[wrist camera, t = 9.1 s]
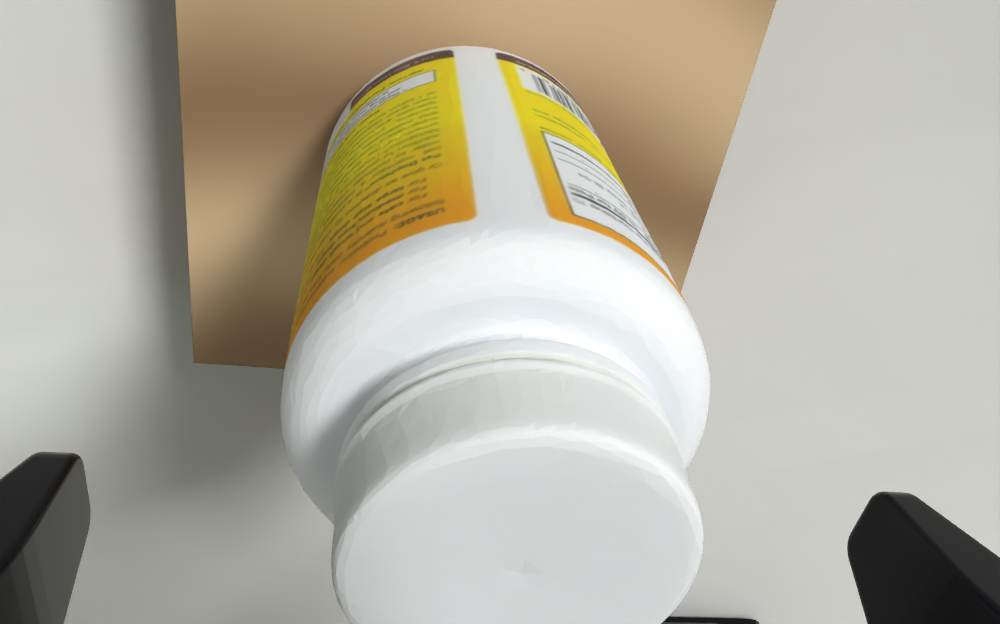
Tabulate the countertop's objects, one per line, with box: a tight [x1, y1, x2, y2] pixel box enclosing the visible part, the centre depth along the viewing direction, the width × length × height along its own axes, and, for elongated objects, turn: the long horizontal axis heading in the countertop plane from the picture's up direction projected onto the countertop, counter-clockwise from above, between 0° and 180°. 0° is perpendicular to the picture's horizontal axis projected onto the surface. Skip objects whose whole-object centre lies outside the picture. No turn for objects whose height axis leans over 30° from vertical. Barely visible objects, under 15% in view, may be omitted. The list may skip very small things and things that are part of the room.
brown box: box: [175, 0, 776, 369], centre depth 18 cm, size 11×11×3 cm
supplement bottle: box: [281, 46, 710, 624], centre depth 13 cm, size 6×6×10 cm
